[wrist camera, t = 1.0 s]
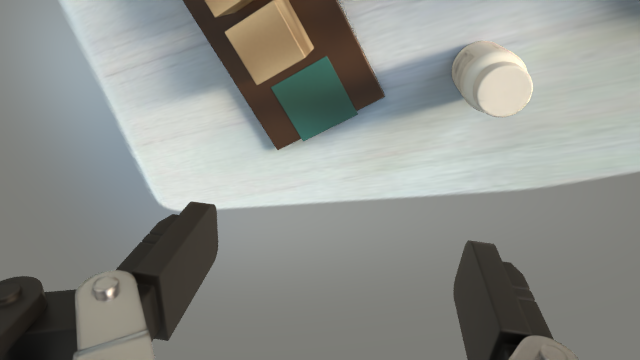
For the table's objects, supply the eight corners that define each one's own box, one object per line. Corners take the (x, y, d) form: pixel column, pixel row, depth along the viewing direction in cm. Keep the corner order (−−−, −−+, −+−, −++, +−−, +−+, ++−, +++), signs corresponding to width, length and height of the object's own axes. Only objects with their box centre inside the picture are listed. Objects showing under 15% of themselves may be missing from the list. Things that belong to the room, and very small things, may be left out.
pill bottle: (457, 102, 34) (477, 133, 27) (445, 51, 33) (462, 71, 26) (512, 85, 33) (546, 113, 26) (502, 31, 31) (536, 47, 25)
